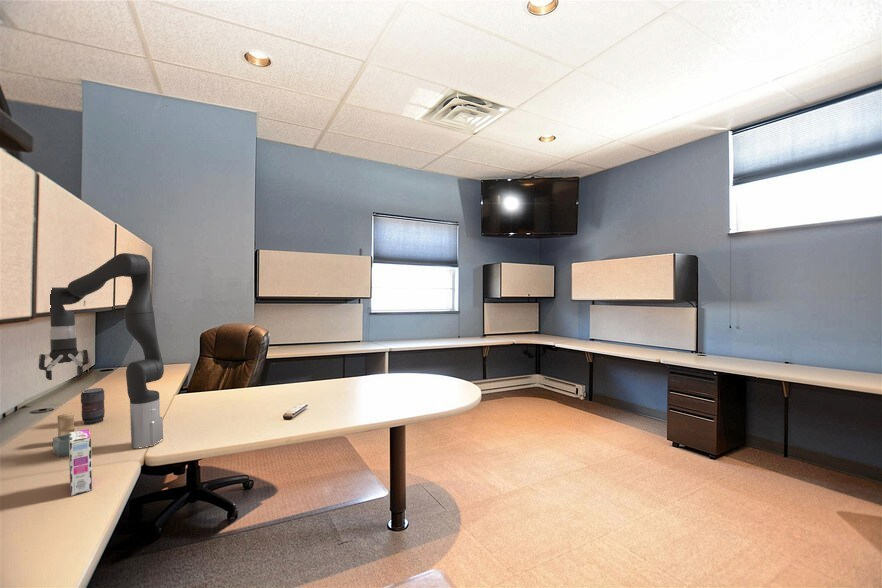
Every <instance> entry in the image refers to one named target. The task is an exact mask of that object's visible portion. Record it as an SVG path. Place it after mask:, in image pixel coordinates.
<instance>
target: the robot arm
mask: <svg viewBox="0 0 882 588" xmlns="http://www.w3.org/2000/svg"><path fill="white" fill-rule="evenodd" d="M150 263H151V262H149V259H148V258H147V257H146V256H145V255H142V254H136V253H127V252H123V253H119V254H116V255H115V256H113V257H111V258H110V259H108V261H106V262H105V263H103V264H102V265H100V266H99V267H98V268H95V270H93V271H91V272H89V273H87V274H85V275H83V276H80V277H77V279H74V280H72V281H70V282H69V283H68V285H67V287H66V286H65V287H61V286H60V287H59V286H58V287H54V286H53V287H51V288H52V290H51V294H50V305H51V308H50V312H51V313H50V314H49V316H50V319H49V320H50V331H49V338H50V340H49V341H50V342H49V343H50V353H45V354H44V353H40V354H39V355H38V369H39V370H41V371H44V372H45V379H46V380H48V381H52V380H53V373H52V372H53V371H52V369H53V368H54V367H55V366H56V365H57V364H63V363H71V362H73V363H74V364H76V365H77V366H76V375H77V377H81V376H82V375H83V374H84V373H83V372H84V369H83V367H84V366H85V365H88V364H90V361H89V353H88V349H85V348H84V349H81V350H78V348H77V346H78V345H77V343H78V342H77V329H76V317H75V312H74V311H71V310H66V309H65V307H64V306H65V305H66V306H69V305H73V304H74V305H75V304H77V303H79V302H80V301H81V300H82V299H84V298H85V297H86V296H89V295H91V294H94V293H95V292H97V291H99V290H100V289H102V288H103V287H104V286H105V284H106V283H107V282H108V281H110V280H113V279H116V278H120V277H126V278H127V277H128V278H130V280H131V289H132V290H131V294H130V296H129V299H128V300H127V303H126V304H125V308H124V314H123V315H124V323H125V328H126V330H127V332H128V333H130V335H131V336H132V338H134V339H135V341H136V342H137V343H138V344H139V345H140V347H141V349H142V351H143V355H144V359H140V360H136V361H135V360H134V361H132V362H129V364H128V365H127V367H126V371H125V378H126V389H127V395H128V399H129V407H130V408H129V409H130V410H129V411H130V412H129V413H130V442H131V443H130V445H131V446H130V447H131V448H132V447H133V448H132V449H134V448H139V447H146V446H150V445H154V444H155V443H157V442H158V441H160V440H161V439H163V440H164V421H163V420H164V419H163V418H164V417H162V416H161V409H160V408H161V407H160V406H161V405H160V404H161V403H160V402H161V401H160V392H159V391H157V390H151V389H148V387H147V384H149V383H152V382H153V383H154V382H157V381H160V380H161V379H162V378H163V376H164V372H165V369H164V366H165V365H164V361H163V358H162V353H161V351H160V346H159V341H158V335H157V328H156V319H155V312H154V307H153V299H152V298H153V297H152V296H153V295H152V285H151V284H152V283H151V282H152V280H151V279H152V278H151V276H152V275H151V272H152V271H151V264H150ZM78 355H80V356H81V357H82V361H80V360H79V359H78V358H76V357H77V356H78ZM48 358H50V359H52V360H51V361H50V362H49V363H48V365H45V364H46V360H48Z"/></svg>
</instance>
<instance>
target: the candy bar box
mask: <svg viewBox="0 0 882 588" xmlns="http://www.w3.org/2000/svg"><path fill="white" fill-rule="evenodd" d="M74 431H75V432H70V433H69V455H68V456H69V457H68V458H69V459H68V460H69V461H68V462H69V465H68V466H69V489H70V496H71V497H73V496H77V495H81V494H84V493H89V492H91V491H93V470H92V468H93V466H92V465H93V464H92V463H93V461H92V458H93V457H92V436H91V433H90V429H89V428H86V429H80V430H74Z"/></svg>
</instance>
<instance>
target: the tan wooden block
mask: <svg viewBox="0 0 882 588" xmlns="http://www.w3.org/2000/svg"><path fill="white" fill-rule="evenodd" d="M75 431H76V430H75V414H73V412H70V413H64V414H59V415H57V436H62V435H66V434H69V433H70V432H75Z"/></svg>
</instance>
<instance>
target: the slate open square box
mask: <svg viewBox="0 0 882 588" xmlns="http://www.w3.org/2000/svg"><path fill="white" fill-rule="evenodd" d="M52 451H53V453H54V454H55V455H56V456H57V457H58V458H61V457H66V456H69V434H66V435H62V436H58V435H57V436H53V437H52Z"/></svg>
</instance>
